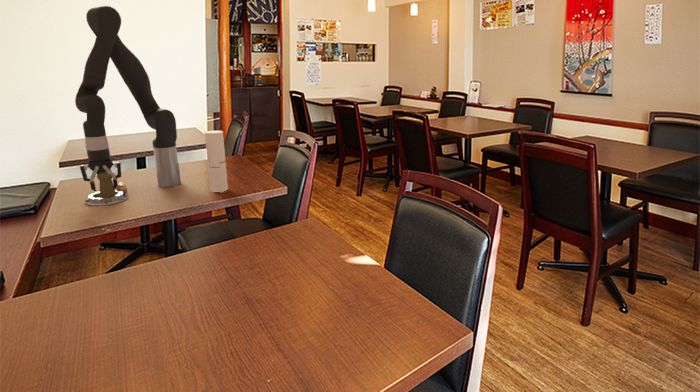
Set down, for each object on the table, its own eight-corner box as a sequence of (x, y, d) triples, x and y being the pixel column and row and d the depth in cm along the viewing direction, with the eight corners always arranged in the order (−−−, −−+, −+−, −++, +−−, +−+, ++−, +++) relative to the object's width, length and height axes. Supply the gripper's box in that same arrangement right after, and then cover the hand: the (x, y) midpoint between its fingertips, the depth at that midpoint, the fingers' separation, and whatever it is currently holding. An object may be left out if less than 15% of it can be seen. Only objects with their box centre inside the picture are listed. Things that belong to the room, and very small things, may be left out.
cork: (110, 201, 169) (105, 173, 166) (96, 200, 170) (91, 173, 166) (120, 196, 175) (116, 170, 171) (106, 196, 175) (102, 169, 172)
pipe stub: (116, 190, 185) (114, 181, 183) (127, 189, 186) (125, 179, 185) (116, 195, 178) (114, 185, 176) (127, 194, 180) (126, 184, 178)
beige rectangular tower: (231, 190, 186) (226, 131, 178) (216, 193, 181) (210, 133, 173) (222, 186, 190) (217, 129, 183) (207, 190, 185) (201, 131, 178)
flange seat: (127, 192, 182) (126, 187, 181) (128, 202, 169) (127, 197, 168) (86, 197, 175) (84, 191, 174) (83, 208, 162) (82, 202, 162)
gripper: (118, 144, 172) (125, 184, 177) (76, 147, 166) (84, 189, 171) (118, 147, 166) (125, 189, 171) (74, 151, 159) (83, 194, 164)
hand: (105, 189), depth 171 cm, fingers open, 6 cm apart
